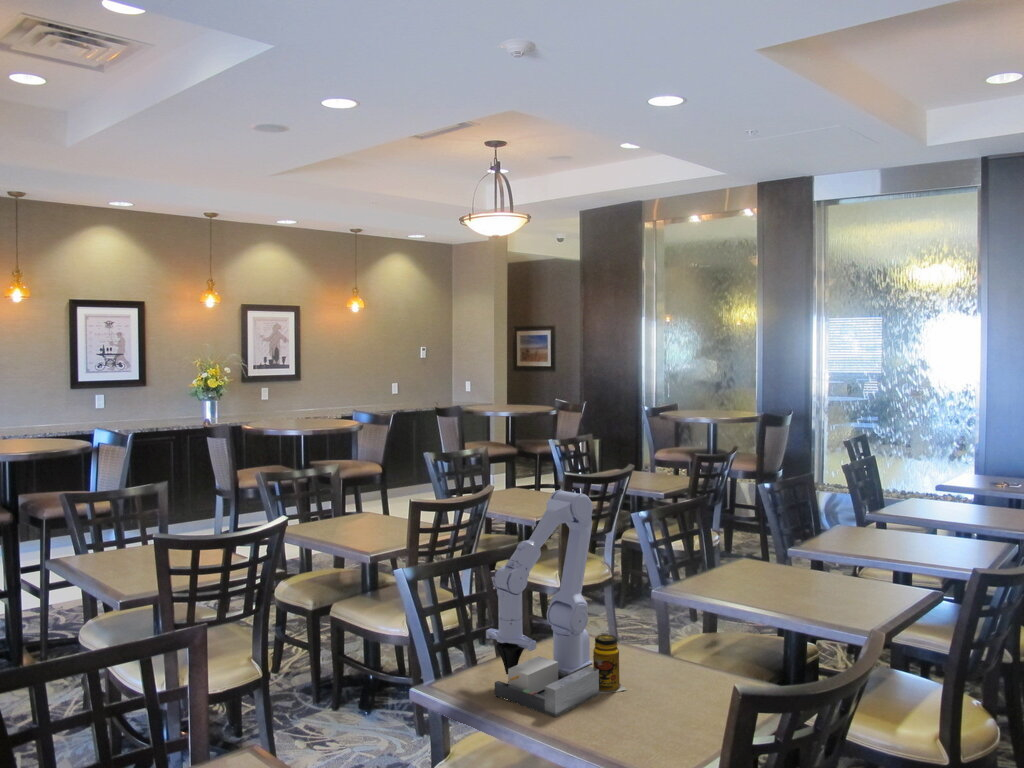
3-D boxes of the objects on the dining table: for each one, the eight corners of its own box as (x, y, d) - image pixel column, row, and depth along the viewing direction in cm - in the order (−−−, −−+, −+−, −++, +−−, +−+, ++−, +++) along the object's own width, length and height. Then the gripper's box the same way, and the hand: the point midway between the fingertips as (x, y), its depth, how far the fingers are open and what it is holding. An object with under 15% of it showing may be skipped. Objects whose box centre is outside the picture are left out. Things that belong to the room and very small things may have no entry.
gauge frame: (539, 676, 204) (539, 651, 204) (598, 695, 192) (598, 669, 192) (494, 696, 192) (494, 670, 192) (555, 717, 180) (554, 690, 180)
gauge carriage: (538, 676, 201) (538, 656, 201) (558, 682, 197) (558, 661, 197) (501, 693, 191) (500, 671, 191) (520, 700, 187) (520, 678, 187)
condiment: (598, 694, 193) (598, 643, 192) (584, 681, 201) (584, 632, 200) (627, 690, 195) (627, 639, 195) (612, 677, 203) (611, 628, 203)
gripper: (477, 615, 201) (477, 670, 202) (522, 627, 191) (522, 686, 192) (497, 608, 206) (497, 662, 207) (541, 620, 197) (542, 677, 197)
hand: (510, 673), depth 200 cm, fingers closed
